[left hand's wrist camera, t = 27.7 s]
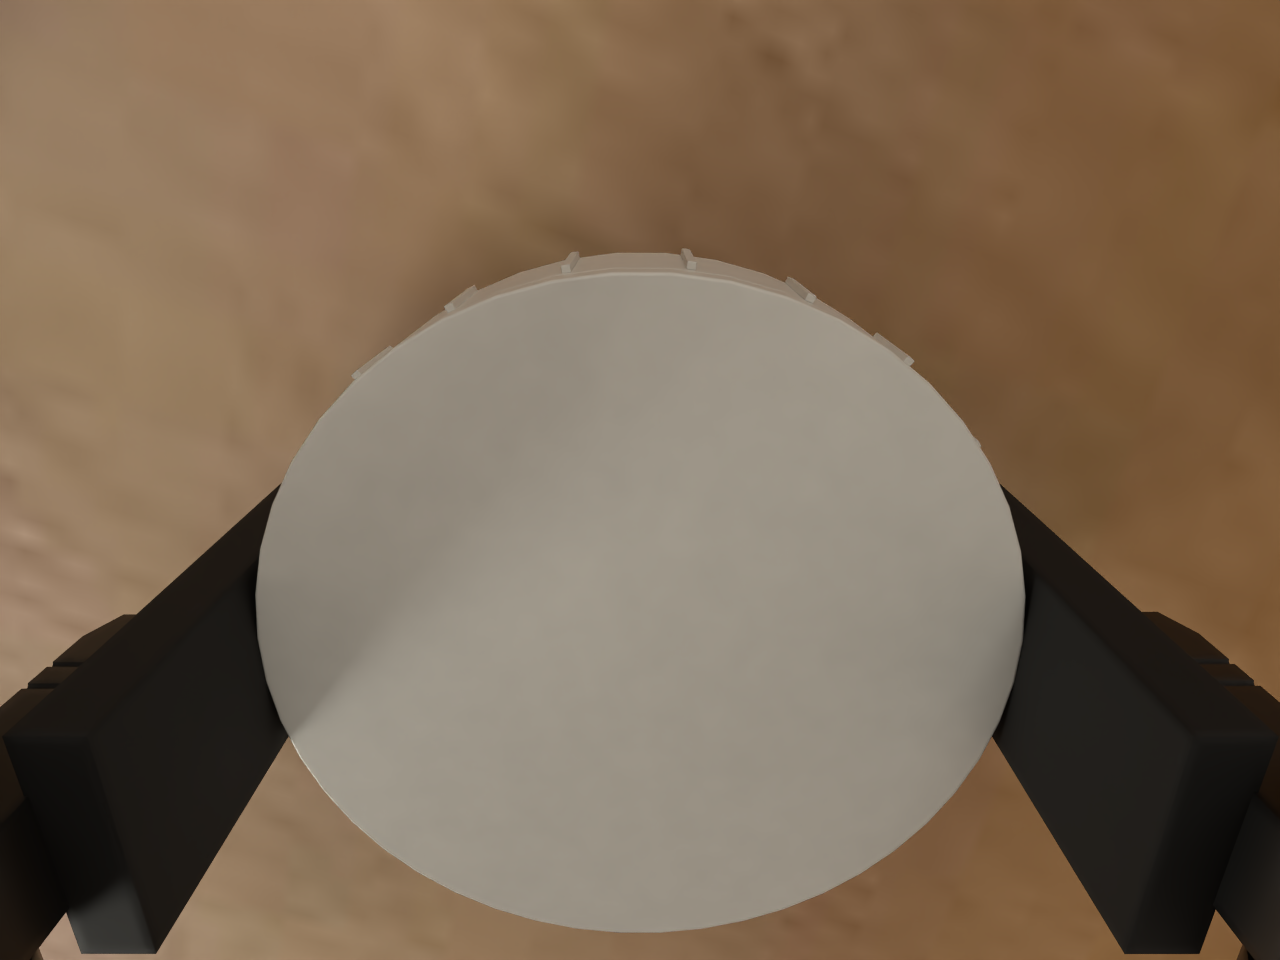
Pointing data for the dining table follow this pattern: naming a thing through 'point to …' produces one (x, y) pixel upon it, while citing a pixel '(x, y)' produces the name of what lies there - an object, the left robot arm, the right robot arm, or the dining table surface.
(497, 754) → the lid
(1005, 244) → the dining table surface
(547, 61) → the dining table surface
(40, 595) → the dining table surface
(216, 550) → the left robot arm
